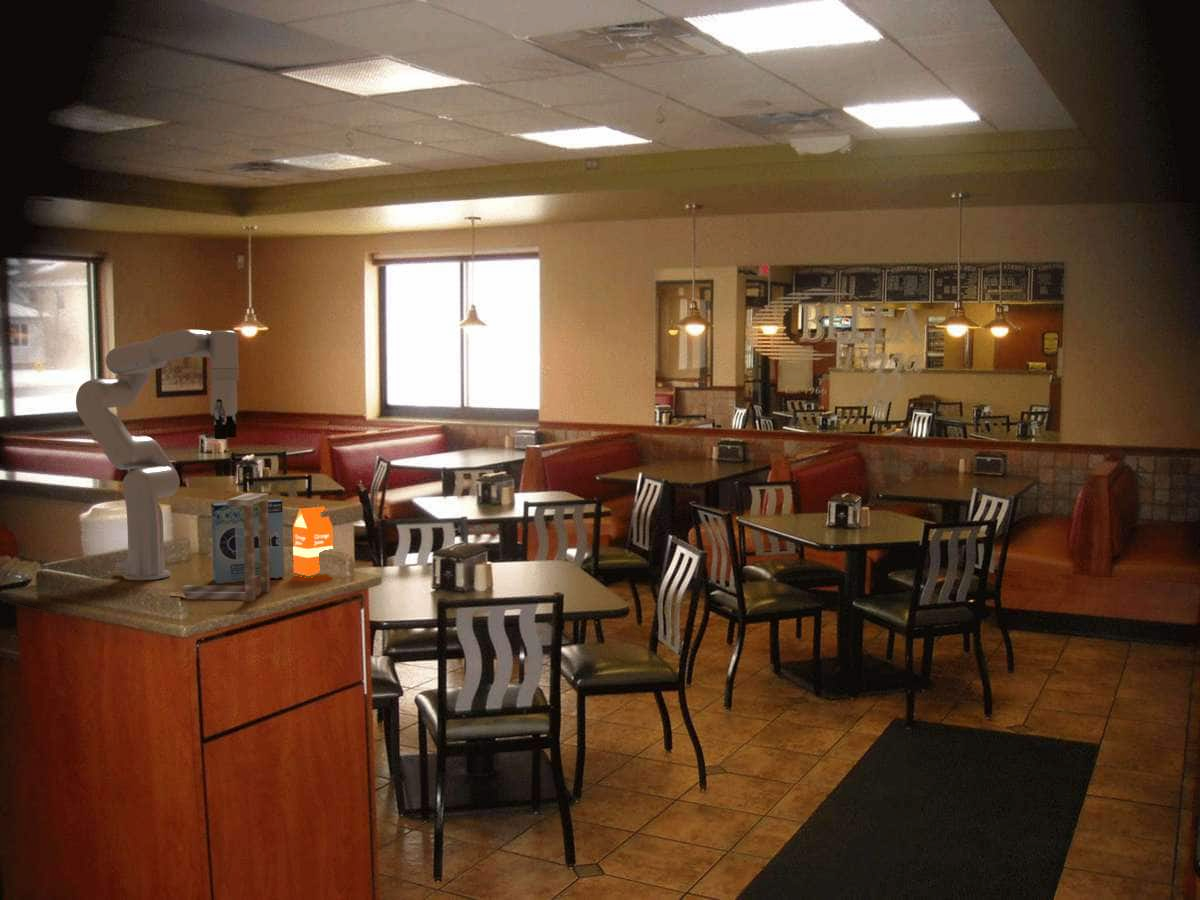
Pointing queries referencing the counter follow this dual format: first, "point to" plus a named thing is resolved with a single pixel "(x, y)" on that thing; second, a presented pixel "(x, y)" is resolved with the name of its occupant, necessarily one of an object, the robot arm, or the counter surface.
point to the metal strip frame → (252, 582)
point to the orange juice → (310, 540)
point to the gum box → (232, 541)
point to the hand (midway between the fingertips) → (225, 437)
